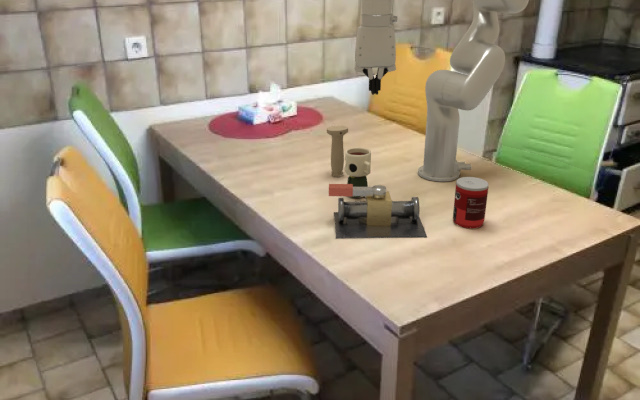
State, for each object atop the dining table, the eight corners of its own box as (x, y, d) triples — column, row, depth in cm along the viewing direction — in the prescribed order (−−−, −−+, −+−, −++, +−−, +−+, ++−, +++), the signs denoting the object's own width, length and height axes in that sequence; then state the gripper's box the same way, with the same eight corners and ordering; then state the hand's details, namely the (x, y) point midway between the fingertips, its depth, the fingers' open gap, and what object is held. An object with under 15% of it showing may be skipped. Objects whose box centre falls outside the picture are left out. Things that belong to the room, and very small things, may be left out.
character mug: (335, 191, 169) (336, 148, 163) (356, 186, 172) (356, 143, 167) (358, 204, 160) (359, 159, 155) (379, 198, 164) (380, 154, 158)
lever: (385, 192, 149) (385, 183, 148) (386, 198, 146) (386, 189, 145) (329, 191, 150) (329, 183, 149) (328, 197, 147) (328, 188, 146)
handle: (350, 176, 179) (350, 129, 173) (330, 179, 177) (330, 131, 171) (343, 171, 183) (343, 124, 177) (324, 174, 181) (324, 127, 175)
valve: (417, 212, 155) (418, 188, 153) (426, 237, 143) (428, 211, 140) (333, 213, 155) (334, 189, 152) (336, 238, 142) (336, 212, 140)
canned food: (460, 213, 155) (464, 174, 151) (489, 221, 151) (494, 181, 146) (446, 223, 150) (450, 183, 145) (475, 232, 145) (480, 191, 141)
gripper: (403, 18, 151) (400, 89, 159) (345, 19, 151) (345, 90, 158) (408, 22, 144) (405, 96, 152) (347, 23, 144) (347, 97, 152)
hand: (374, 93), depth 155 cm, fingers closed
